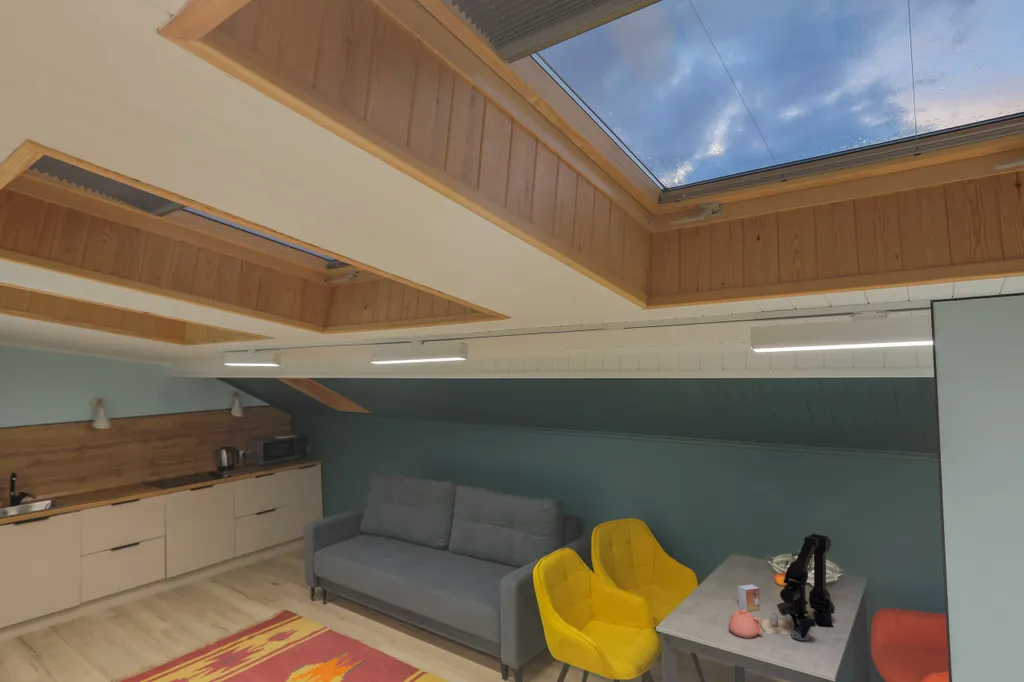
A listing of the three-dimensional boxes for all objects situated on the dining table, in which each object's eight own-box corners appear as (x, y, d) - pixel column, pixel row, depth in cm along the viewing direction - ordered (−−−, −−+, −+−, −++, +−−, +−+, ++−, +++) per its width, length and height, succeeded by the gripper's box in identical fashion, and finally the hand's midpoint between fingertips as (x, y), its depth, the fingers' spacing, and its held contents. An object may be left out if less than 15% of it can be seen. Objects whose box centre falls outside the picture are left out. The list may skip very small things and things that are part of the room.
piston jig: (783, 622, 253) (783, 608, 254) (794, 634, 241) (793, 620, 242) (756, 621, 254) (756, 608, 255) (765, 633, 243) (764, 619, 243)
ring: (804, 633, 240) (804, 626, 240) (811, 640, 234) (810, 633, 234) (789, 633, 241) (789, 625, 241) (795, 640, 234) (794, 632, 235)
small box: (746, 612, 264) (745, 589, 265) (738, 607, 270) (737, 585, 271) (760, 610, 267) (759, 587, 267) (752, 605, 272) (751, 583, 273)
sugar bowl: (734, 625, 251) (733, 602, 252) (766, 634, 242) (765, 610, 243) (725, 635, 242) (724, 611, 242) (758, 644, 233) (757, 619, 233)
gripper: (771, 588, 248) (772, 623, 247) (786, 605, 230) (788, 643, 229) (797, 588, 247) (798, 624, 246) (815, 606, 229) (816, 645, 228)
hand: (800, 634), depth 237 cm, fingers closed on ring, 6 cm apart
